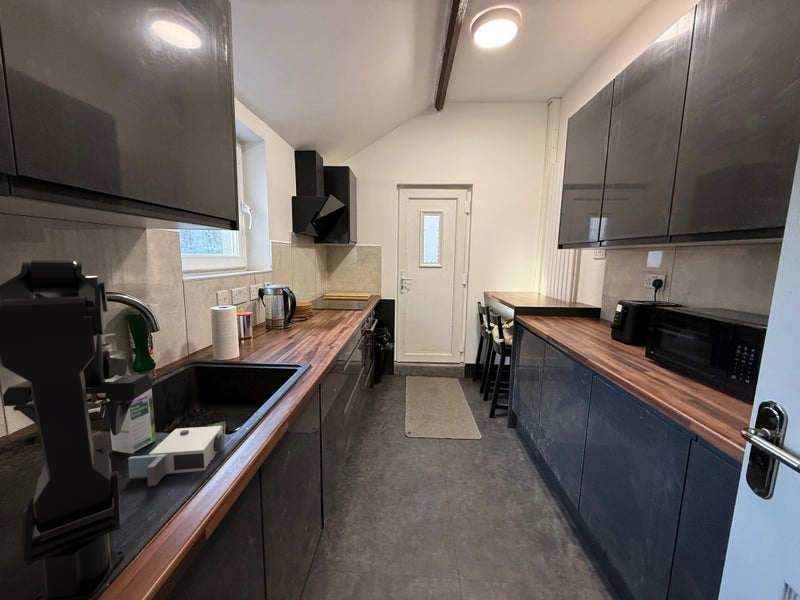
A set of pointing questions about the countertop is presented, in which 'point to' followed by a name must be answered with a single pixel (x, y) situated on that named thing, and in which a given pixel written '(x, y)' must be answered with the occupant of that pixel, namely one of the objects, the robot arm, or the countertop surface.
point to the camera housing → (191, 448)
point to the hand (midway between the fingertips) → (86, 436)
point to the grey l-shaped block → (148, 467)
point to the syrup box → (136, 426)
